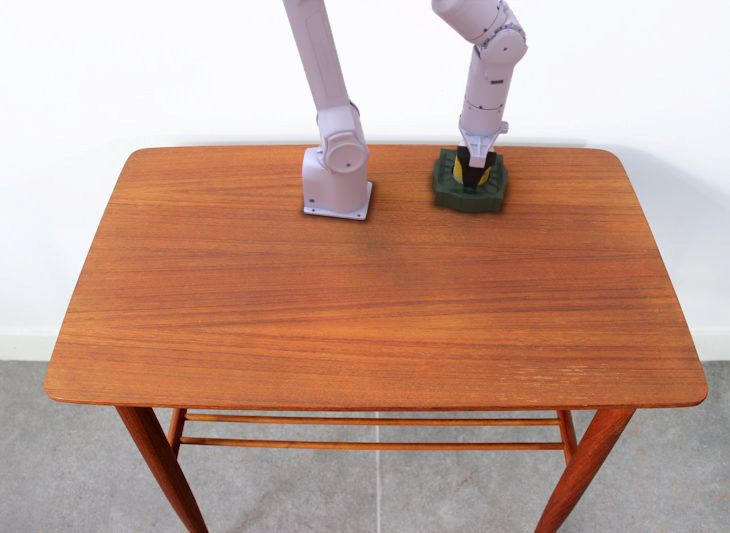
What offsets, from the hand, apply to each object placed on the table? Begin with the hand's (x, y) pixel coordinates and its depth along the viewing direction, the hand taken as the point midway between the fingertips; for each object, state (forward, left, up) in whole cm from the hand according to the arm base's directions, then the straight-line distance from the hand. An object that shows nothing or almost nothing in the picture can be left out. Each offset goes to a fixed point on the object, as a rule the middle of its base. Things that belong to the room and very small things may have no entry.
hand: (470, 171), depth 93 cm
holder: (0, 0, -3) cm, 3 cm away
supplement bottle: (0, 0, -3) cm, 3 cm away
